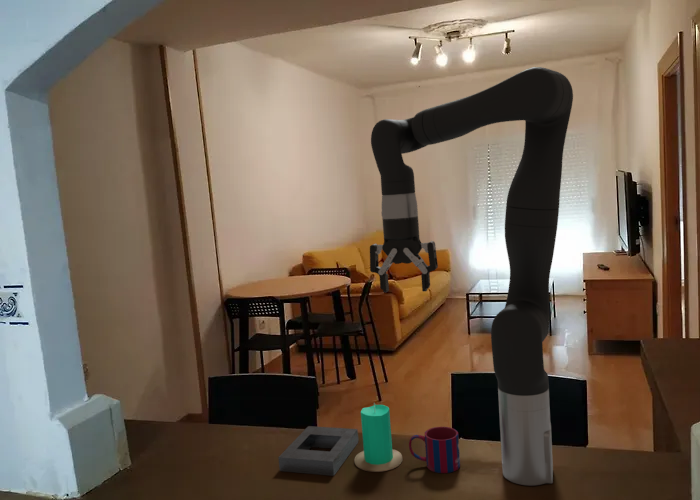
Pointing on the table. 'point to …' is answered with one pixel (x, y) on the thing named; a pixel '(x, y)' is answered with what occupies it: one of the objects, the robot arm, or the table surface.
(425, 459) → the mug
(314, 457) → the grey rectangular frame
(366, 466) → the cork coaster
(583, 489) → the table surface
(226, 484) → the table surface
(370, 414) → the candle
